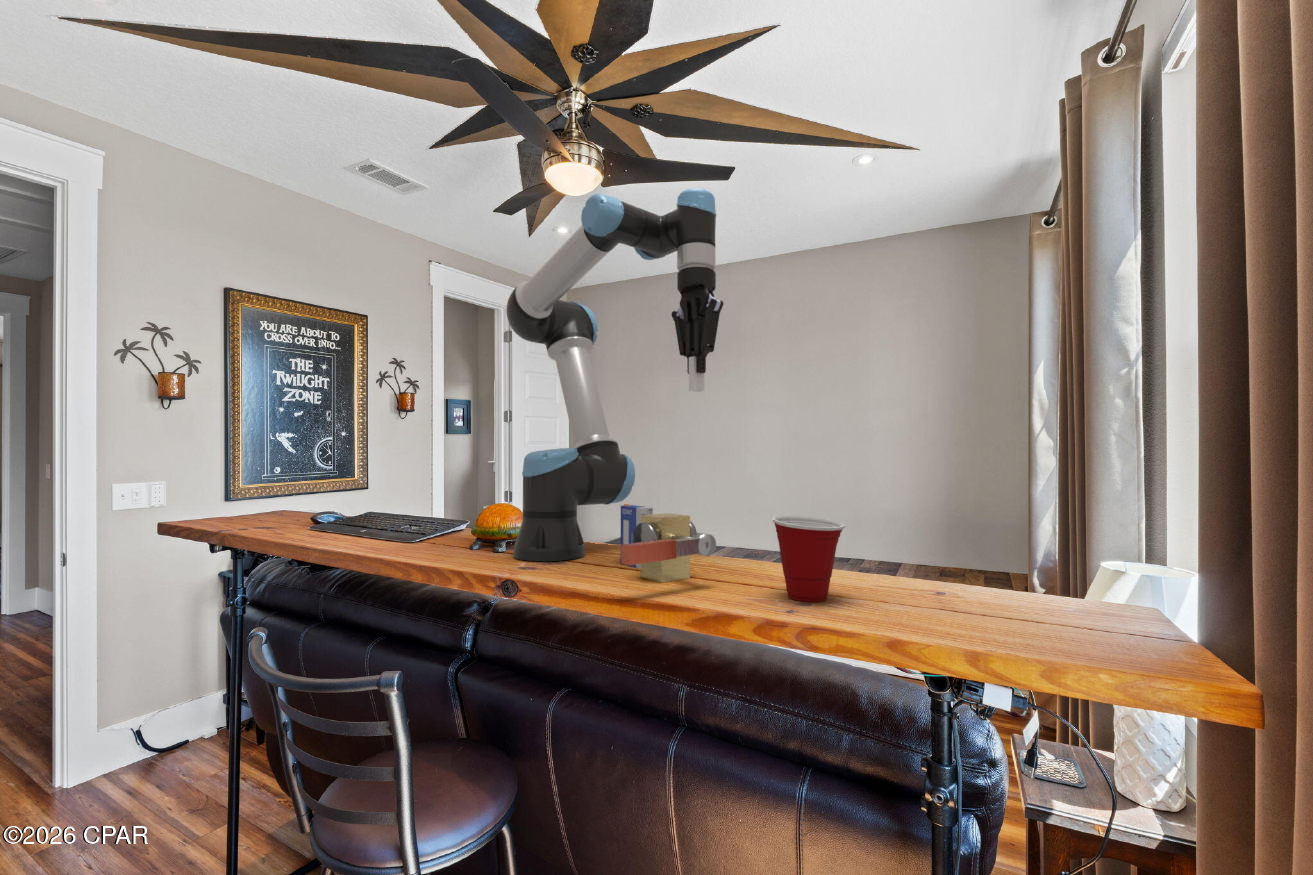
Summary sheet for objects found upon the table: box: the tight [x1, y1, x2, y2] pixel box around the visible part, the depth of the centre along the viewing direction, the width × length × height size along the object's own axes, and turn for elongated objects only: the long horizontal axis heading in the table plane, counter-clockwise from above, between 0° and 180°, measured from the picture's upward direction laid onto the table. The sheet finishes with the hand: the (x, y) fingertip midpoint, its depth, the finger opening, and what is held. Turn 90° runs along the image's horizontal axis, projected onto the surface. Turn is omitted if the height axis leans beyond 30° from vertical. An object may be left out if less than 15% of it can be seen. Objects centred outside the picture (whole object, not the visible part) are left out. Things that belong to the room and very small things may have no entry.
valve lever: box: [620, 532, 717, 566], centre depth 91 cm, size 2×4×17 cm
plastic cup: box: [772, 515, 846, 603], centre depth 88 cm, size 11×11×12 cm
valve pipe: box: [633, 512, 698, 583], centre depth 101 cm, size 11×10×11 cm
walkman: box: [619, 503, 654, 570], centre depth 115 cm, size 8×3×12 cm, turn 35°
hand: (696, 390), depth 113 cm, fingers closed
